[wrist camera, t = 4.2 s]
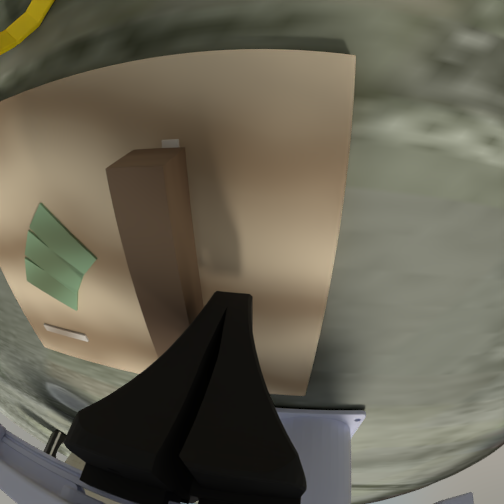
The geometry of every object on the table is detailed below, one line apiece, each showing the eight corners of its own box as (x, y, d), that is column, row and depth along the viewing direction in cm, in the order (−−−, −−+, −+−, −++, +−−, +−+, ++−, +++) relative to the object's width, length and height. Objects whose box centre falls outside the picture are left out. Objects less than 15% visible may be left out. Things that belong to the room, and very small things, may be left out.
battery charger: (68, 441, 44) (50, 487, 35) (52, 431, 43) (32, 476, 34) (74, 439, 41) (54, 489, 31) (56, 428, 40) (35, 478, 30)
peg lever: (234, 381, 17) (224, 432, 15) (180, 373, 18) (164, 421, 15) (218, 138, 10) (183, 175, 7) (127, 142, 10) (70, 179, 7)
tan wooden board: (305, 385, 18) (304, 397, 18) (49, 340, 21) (44, 348, 20) (351, 55, 8) (356, 55, 8) (-35, 118, 11) (-46, 123, 10)
